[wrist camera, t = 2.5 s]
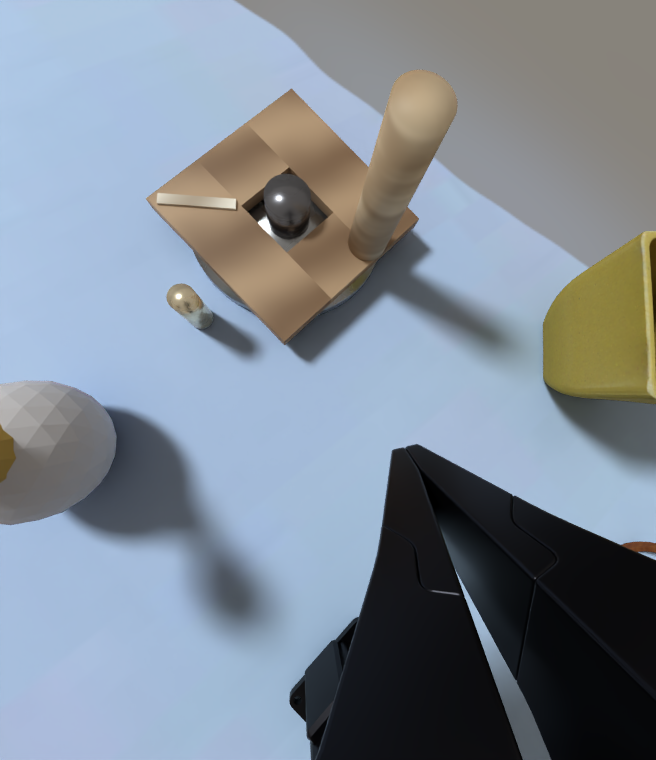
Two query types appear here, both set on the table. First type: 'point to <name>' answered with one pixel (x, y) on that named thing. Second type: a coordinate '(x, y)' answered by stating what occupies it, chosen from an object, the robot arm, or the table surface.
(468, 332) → the table surface
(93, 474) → the perfume bottle
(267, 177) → the flange plate
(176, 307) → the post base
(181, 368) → the table surface
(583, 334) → the flower pot
